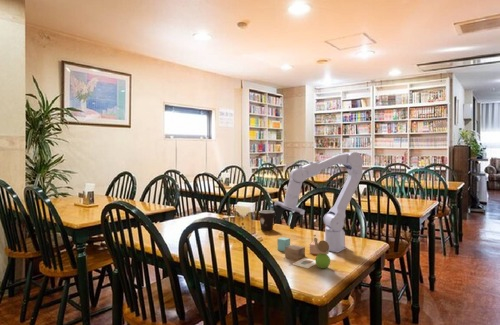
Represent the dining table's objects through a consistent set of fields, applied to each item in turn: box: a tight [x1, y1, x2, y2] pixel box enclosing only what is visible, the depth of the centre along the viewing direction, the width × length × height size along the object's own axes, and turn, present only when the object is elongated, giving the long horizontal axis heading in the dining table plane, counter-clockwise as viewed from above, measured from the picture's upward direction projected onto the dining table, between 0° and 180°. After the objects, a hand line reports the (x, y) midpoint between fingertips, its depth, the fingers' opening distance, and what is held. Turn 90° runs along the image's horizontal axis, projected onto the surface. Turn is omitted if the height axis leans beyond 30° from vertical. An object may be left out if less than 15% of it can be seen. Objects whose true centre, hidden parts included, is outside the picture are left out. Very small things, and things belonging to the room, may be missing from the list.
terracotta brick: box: [309, 241, 320, 255], centre depth 147 cm, size 4×4×4 cm
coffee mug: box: [258, 209, 277, 232], centre depth 187 cm, size 12×9×10 cm
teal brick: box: [276, 236, 291, 252], centre depth 151 cm, size 4×4×5 cm
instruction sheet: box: [292, 257, 317, 269], centre depth 133 cm, size 9×7×1 cm
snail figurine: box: [313, 234, 331, 269], centre depth 128 cm, size 5×6×12 cm
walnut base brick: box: [284, 244, 306, 261], centre depth 142 cm, size 6×6×4 cm
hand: (284, 225), depth 148 cm, fingers open, 7 cm apart
